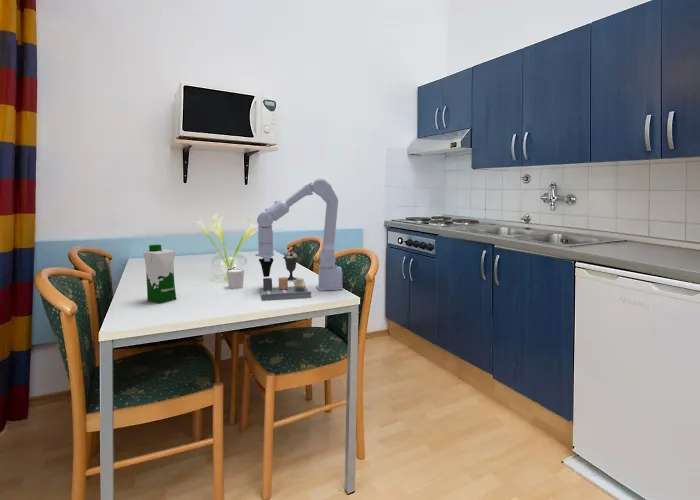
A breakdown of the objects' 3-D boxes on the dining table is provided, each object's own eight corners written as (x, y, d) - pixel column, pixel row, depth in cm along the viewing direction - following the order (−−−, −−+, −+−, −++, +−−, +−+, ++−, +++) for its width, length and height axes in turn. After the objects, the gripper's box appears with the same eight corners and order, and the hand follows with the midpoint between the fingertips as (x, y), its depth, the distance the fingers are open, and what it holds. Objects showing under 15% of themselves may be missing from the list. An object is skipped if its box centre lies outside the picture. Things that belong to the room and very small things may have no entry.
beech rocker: (303, 281, 171) (303, 279, 171) (305, 287, 165) (305, 285, 165) (293, 281, 170) (293, 279, 170) (295, 288, 164) (295, 286, 164)
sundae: (301, 278, 195) (301, 245, 193) (292, 281, 189) (291, 247, 187) (290, 277, 198) (289, 244, 196) (280, 279, 193) (279, 246, 190)
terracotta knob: (286, 287, 171) (286, 277, 171) (287, 288, 168) (287, 278, 168) (278, 287, 171) (278, 277, 170) (279, 289, 167) (279, 279, 167)
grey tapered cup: (240, 289, 174) (239, 272, 173) (224, 288, 175) (223, 271, 174) (247, 285, 181) (246, 269, 180) (232, 284, 182) (231, 268, 181)
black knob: (271, 287, 170) (271, 277, 169) (272, 289, 167) (272, 279, 166) (263, 288, 169) (263, 278, 168) (263, 290, 166) (263, 280, 165)
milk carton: (165, 295, 163) (162, 243, 160) (180, 299, 158) (177, 245, 156) (143, 301, 156) (139, 246, 153) (159, 304, 151) (155, 247, 148)
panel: (304, 288, 175) (304, 281, 175) (310, 297, 161) (310, 290, 160) (259, 291, 171) (259, 284, 170) (261, 300, 156) (261, 293, 156)
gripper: (254, 240, 177) (255, 273, 179) (256, 245, 163) (257, 280, 165) (271, 240, 178) (272, 272, 180) (275, 244, 165) (275, 279, 166)
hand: (266, 276), depth 173 cm, fingers closed
